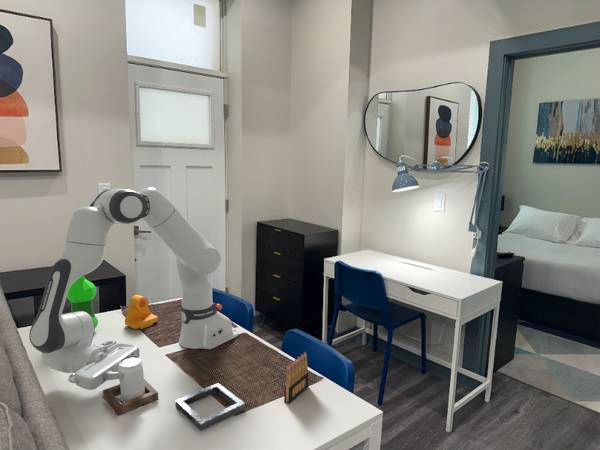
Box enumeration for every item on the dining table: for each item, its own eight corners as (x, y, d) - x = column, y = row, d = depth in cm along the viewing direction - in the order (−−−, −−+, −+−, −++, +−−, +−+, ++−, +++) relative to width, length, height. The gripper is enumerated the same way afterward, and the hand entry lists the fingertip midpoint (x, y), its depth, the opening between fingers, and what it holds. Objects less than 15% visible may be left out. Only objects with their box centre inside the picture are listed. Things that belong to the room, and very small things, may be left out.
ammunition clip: (289, 404, 123) (289, 365, 121) (283, 402, 124) (284, 364, 122) (308, 387, 132) (309, 351, 130) (303, 385, 133) (304, 349, 131)
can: (138, 386, 129) (135, 352, 126) (149, 396, 125) (146, 361, 122) (117, 396, 125) (113, 361, 121) (128, 407, 121) (124, 371, 117)
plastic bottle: (103, 326, 173) (99, 267, 168) (91, 338, 162) (86, 275, 158) (78, 326, 172) (73, 266, 168) (64, 338, 162) (59, 274, 158)
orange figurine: (135, 331, 169) (133, 302, 167) (125, 326, 174) (123, 298, 172) (158, 322, 178) (157, 295, 176) (148, 318, 182) (147, 291, 180)
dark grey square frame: (218, 388, 130) (218, 382, 130) (245, 409, 120) (245, 403, 120) (175, 406, 121) (175, 400, 121) (200, 431, 111) (200, 424, 111)
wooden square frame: (141, 383, 132) (141, 376, 132) (158, 400, 124) (157, 392, 124) (103, 398, 125) (102, 390, 124) (117, 416, 116) (117, 408, 116)
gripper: (63, 369, 116) (105, 378, 112) (115, 337, 135) (153, 344, 131) (65, 390, 117) (106, 400, 113) (117, 356, 137) (154, 363, 133)
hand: (132, 369), depth 123 cm, fingers closed on can, 5 cm apart
